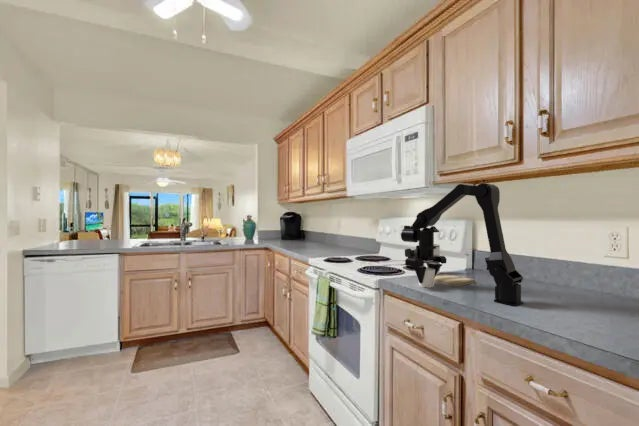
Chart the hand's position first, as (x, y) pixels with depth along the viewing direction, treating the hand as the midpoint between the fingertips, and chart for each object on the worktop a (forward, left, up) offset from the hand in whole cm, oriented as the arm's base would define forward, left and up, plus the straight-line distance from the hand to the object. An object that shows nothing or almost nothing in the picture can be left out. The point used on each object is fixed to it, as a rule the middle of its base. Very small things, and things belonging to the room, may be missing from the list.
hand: (426, 282), depth 126 cm
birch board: (0, -16, -2) cm, 16 cm away
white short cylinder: (0, 0, -2) cm, 2 cm away
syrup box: (+16, -25, -2) cm, 30 cm away
